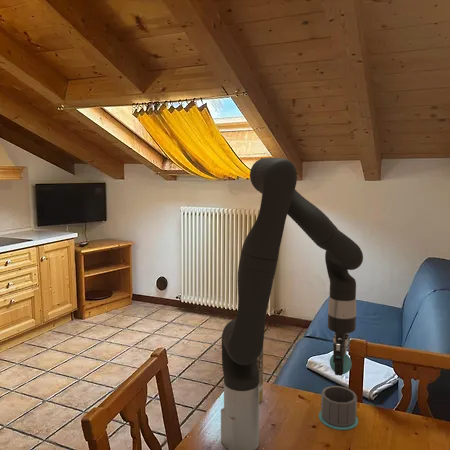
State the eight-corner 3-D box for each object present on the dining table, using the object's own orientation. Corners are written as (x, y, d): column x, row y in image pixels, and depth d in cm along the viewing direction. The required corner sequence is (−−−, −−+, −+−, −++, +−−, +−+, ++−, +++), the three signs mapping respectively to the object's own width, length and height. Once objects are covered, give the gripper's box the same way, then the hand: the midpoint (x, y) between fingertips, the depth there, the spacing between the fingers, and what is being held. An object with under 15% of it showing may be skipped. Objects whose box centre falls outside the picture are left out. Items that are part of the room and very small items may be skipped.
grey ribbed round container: (338, 434, 117) (339, 409, 116) (310, 414, 126) (311, 391, 125) (366, 422, 122) (367, 398, 121) (338, 403, 132) (339, 381, 130)
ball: (340, 380, 118) (340, 359, 117) (324, 371, 123) (325, 351, 122) (355, 374, 121) (356, 354, 120) (340, 366, 126) (340, 346, 125)
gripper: (353, 323, 111) (351, 384, 114) (358, 306, 125) (356, 360, 127) (324, 319, 114) (322, 379, 117) (331, 303, 127) (330, 356, 130)
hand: (340, 369), depth 122 cm, fingers closed on ball, 6 cm apart
